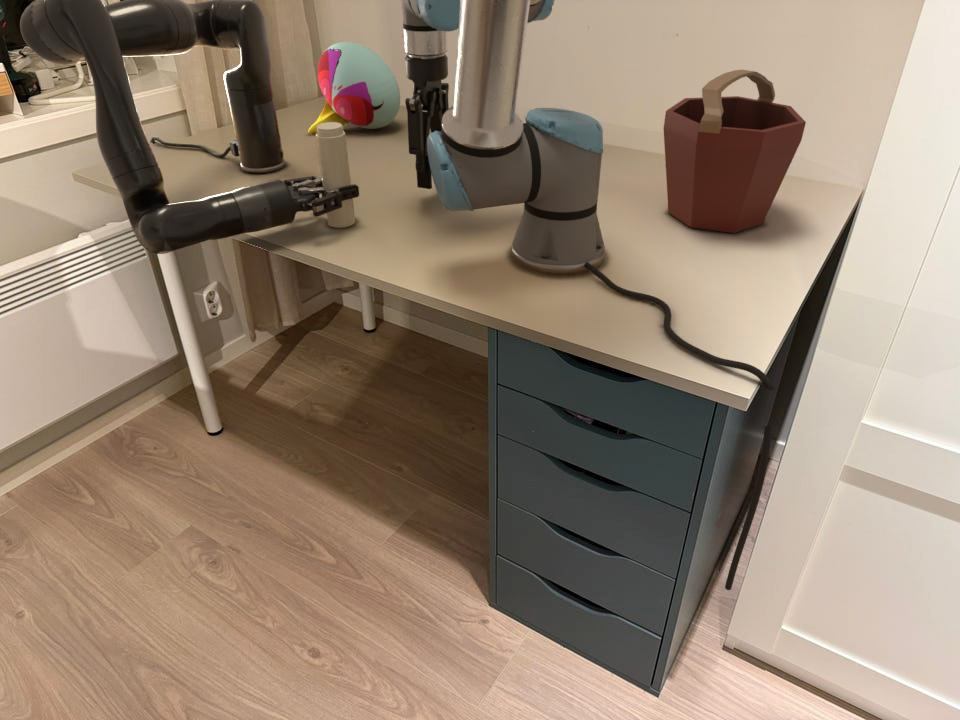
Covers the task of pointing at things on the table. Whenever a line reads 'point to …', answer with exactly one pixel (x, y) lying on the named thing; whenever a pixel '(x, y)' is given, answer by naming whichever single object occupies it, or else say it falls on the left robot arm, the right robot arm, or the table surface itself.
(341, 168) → the jar
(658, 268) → the table surface
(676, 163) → the bucket
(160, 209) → the left robot arm
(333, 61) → the toy
